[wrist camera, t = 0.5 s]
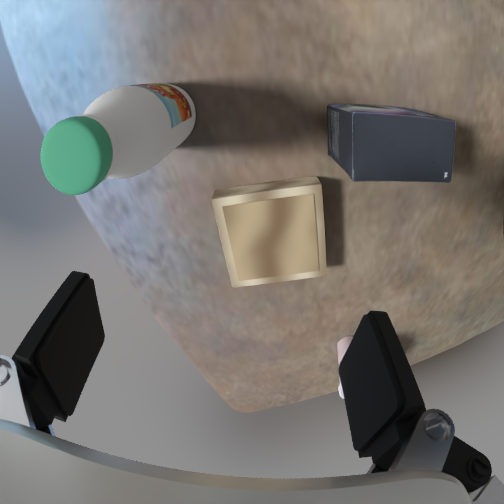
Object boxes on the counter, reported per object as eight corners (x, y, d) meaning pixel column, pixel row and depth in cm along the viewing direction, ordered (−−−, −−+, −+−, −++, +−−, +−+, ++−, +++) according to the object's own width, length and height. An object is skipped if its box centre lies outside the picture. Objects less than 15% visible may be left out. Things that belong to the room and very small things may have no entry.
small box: (410, 105, 30) (459, 118, 21) (408, 157, 33) (453, 185, 24) (325, 101, 31) (352, 109, 22) (327, 156, 34) (352, 185, 25)
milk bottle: (204, 138, 33) (146, 204, 16) (142, 155, 34) (47, 233, 17) (187, 74, 29) (105, 68, 12) (125, 96, 30) (7, 124, 13)
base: (316, 176, 35) (321, 184, 32) (322, 262, 41) (326, 276, 38) (214, 190, 36) (211, 199, 34) (233, 274, 42) (232, 288, 40)
